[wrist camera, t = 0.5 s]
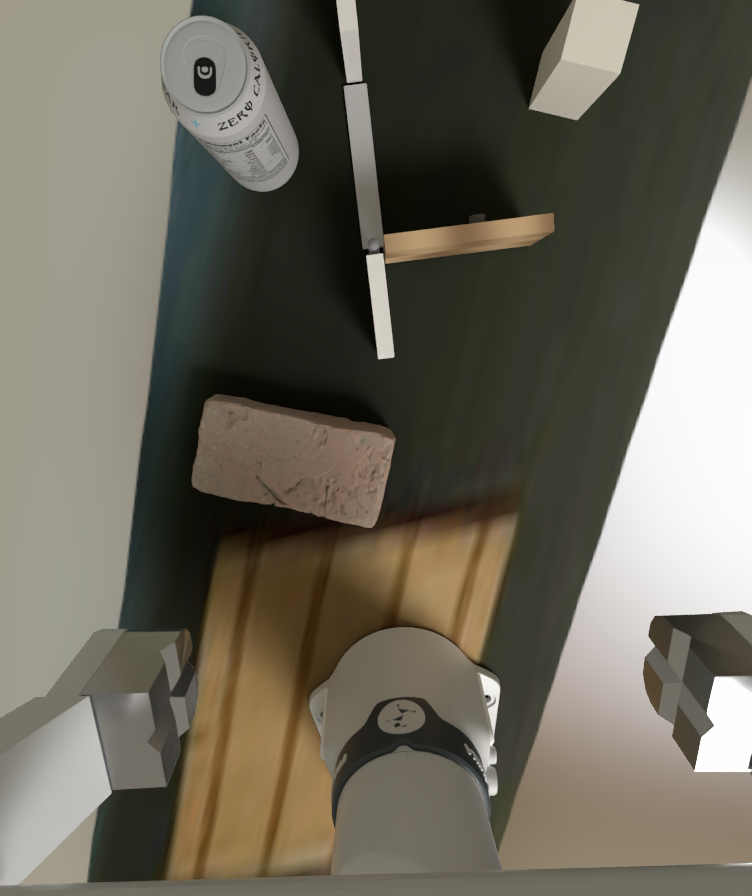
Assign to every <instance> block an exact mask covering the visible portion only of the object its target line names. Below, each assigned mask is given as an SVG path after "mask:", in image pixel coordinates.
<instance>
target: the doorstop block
mask: <svg viewBox="0 0 752 896" xmlns="http://www.w3.org/2000/svg"><path fill="white" fill-rule="evenodd" d="M638 8H639V5H638V4H634V3H630V2H626V1H622V0H573V1H572V2H571V4H570V6H569V8H568V9H567V11H566V13H565V15H564V16H563V18H562V20H561V21H560V23H559V25H558V27H557V28H556V30H555V32H554V34H553V35H552V37H551V39H550V41H549V42H548V44H547V46H546V47H545V49H544V51H543V53H542V56H541V60H540V64H539V68H538V73H537V77H536V81H535V85H534V89H533V93H532V97H531V101H530V105H529V109H532V110H536V111H541V112H545V113H549V114H553V115H557V116H562V117H566V118H570V119H574V120H578V119H579V118H580V117H581V115H582V114H583V113H584V112H585V111H586V110H587V109H588V108H589V107H590V106H591V105H592V104H593V103H594V101H595V100H596V99H597V98H598V97H599V96H600V95H601V94H602V93H603V92H604V91H605V90H606V88H607V87H608V86H609V85H610V84H611V83H612V82H613V81H614V80H615V79H616V78H617V77H618V75H619V74H620V73H621V69H622V65H623V62H624V58H625V54H626V51H627V47H628V44H629V40H630V36H631V33H632V29H633V26H634V22H635V18H636V15H637V11H638Z"/></svg>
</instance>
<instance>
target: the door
mask: <svg viewBox="0 0 752 896" xmlns="http://www.w3.org/2000/svg"><path fill="white" fill-rule="evenodd" d="M552 232H554V213H550V214H542V215H534V216H527V217H519V218H511V219H503V220H495V221H488V222H485V214H475V215H471V216H469V224H464V225H456V226H449V227H441V228H433V229H425V230H417V231H410V232H402V233H394V234H386V235H384V244H383V249H384V258H385V264H387V263H395V262H403V261H410V260H418V259H426V258H434V257H442V256H450V255H458V254H466V253H474V252H482V251H490V250H498V249H506V248H513V247H521V246H529V245H531V244H533V243H535V242H537V241H538V240H540V239H542V238H543V237H545V236H547V235H549V234H550V233H552Z"/></svg>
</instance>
